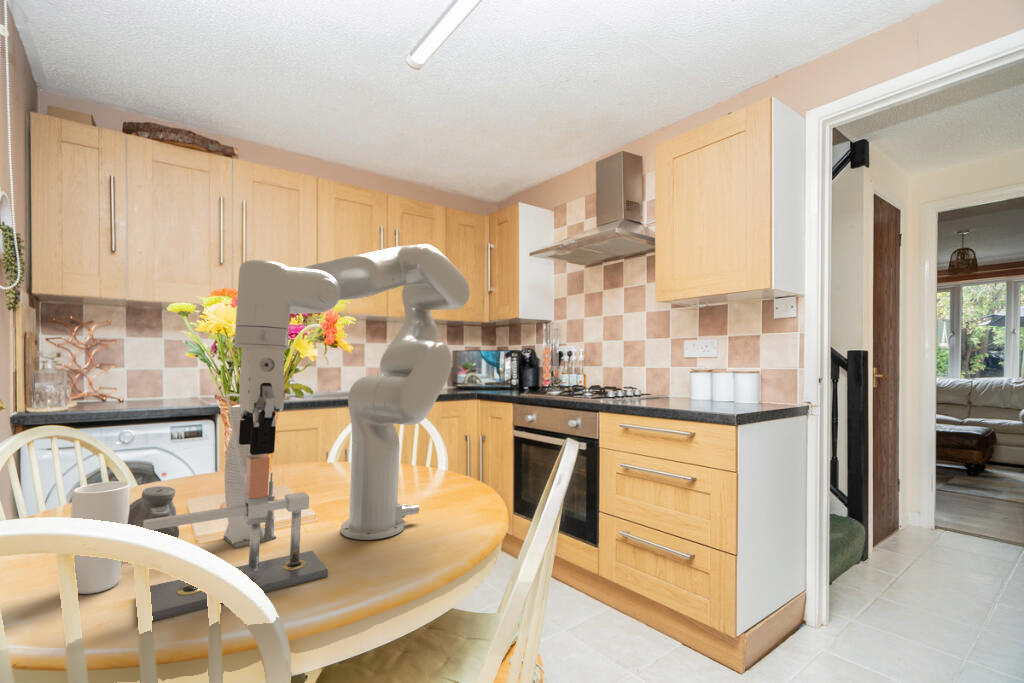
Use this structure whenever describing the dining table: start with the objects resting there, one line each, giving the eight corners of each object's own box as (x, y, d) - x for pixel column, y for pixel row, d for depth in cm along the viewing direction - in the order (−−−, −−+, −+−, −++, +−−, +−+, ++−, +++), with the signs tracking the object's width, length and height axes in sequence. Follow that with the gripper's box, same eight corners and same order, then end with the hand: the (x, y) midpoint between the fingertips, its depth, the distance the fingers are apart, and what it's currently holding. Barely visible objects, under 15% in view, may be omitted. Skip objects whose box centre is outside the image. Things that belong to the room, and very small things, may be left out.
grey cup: (137, 577, 75) (141, 481, 76) (101, 598, 69) (107, 493, 69) (93, 576, 75) (98, 480, 76) (53, 598, 68) (59, 492, 69)
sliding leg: (260, 564, 77) (264, 453, 77) (265, 572, 74) (269, 457, 75) (242, 568, 75) (246, 455, 76) (246, 577, 72) (251, 459, 73)
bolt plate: (311, 557, 84) (312, 549, 84) (327, 576, 77) (327, 567, 77) (139, 596, 70) (139, 586, 70) (139, 624, 62) (139, 614, 62)
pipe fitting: (118, 538, 90) (128, 484, 90) (170, 531, 95) (179, 480, 95) (125, 566, 81) (135, 506, 81) (182, 557, 87) (191, 501, 87)
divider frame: (301, 559, 80) (304, 491, 81) (306, 566, 78) (309, 496, 78) (139, 596, 67) (143, 515, 68) (139, 605, 65) (143, 521, 65)
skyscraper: (227, 550, 86) (234, 395, 87) (213, 538, 92) (219, 392, 93) (275, 538, 92) (281, 393, 93) (259, 527, 98) (265, 390, 99)
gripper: (301, 339, 71) (295, 455, 70) (275, 342, 85) (270, 439, 84) (244, 336, 67) (237, 460, 66) (226, 339, 80) (220, 442, 79)
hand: (255, 448), depth 75 cm, fingers open, 9 cm apart
